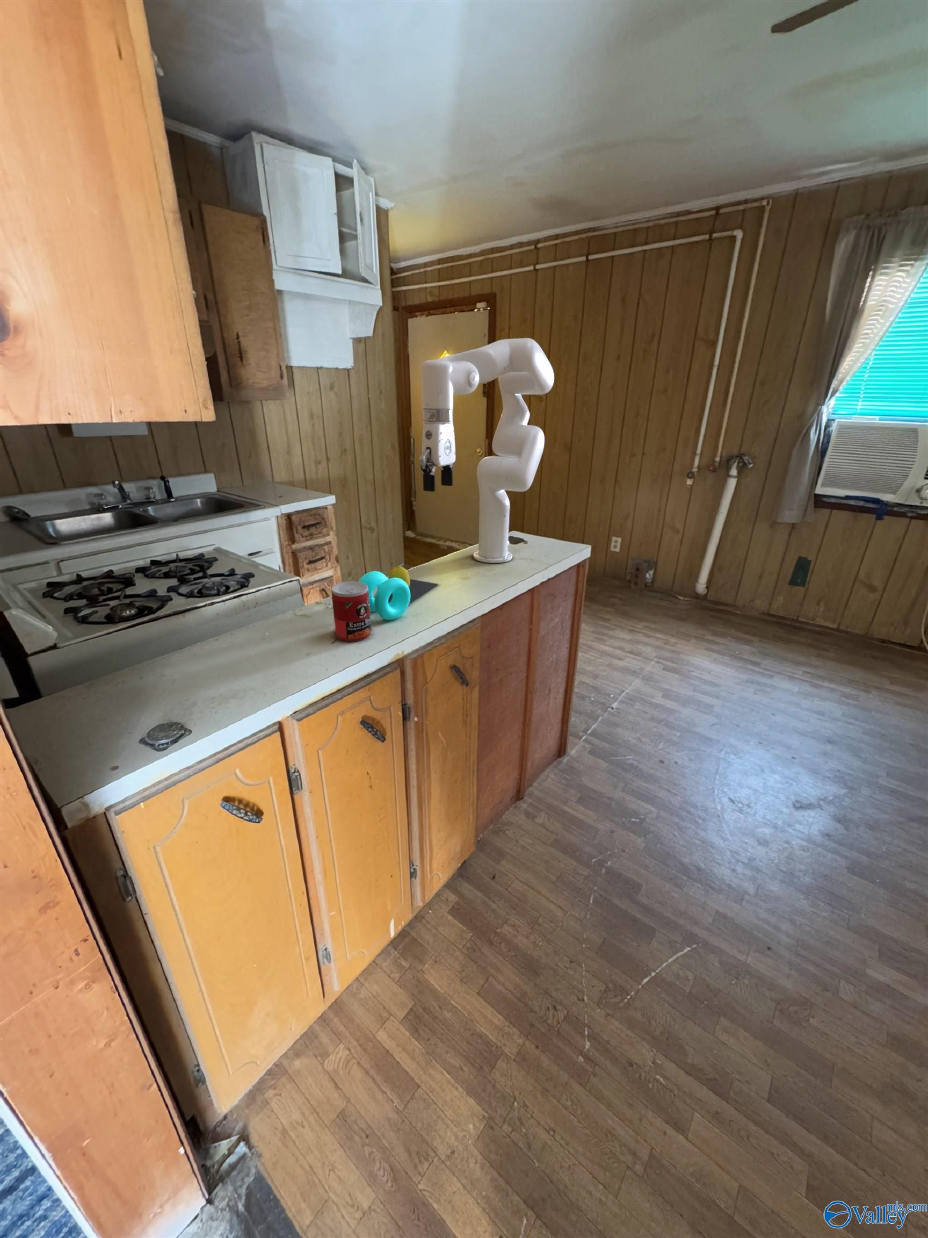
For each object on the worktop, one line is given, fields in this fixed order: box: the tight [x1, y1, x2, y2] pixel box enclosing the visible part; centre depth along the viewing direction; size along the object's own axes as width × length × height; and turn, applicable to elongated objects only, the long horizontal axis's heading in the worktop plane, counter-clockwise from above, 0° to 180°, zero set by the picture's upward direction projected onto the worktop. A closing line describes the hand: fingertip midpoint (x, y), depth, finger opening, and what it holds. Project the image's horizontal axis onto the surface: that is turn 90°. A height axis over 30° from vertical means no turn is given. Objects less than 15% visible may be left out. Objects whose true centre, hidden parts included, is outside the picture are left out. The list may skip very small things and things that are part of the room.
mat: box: [388, 578, 439, 605], centre depth 134 cm, size 18×10×1 cm, turn 155°
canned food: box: [330, 580, 372, 642], centre depth 108 cm, size 8×8×11 cm
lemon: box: [387, 565, 411, 587], centre depth 130 cm, size 6×6×8 cm
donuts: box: [358, 570, 410, 621], centre depth 118 cm, size 10×10×10 cm
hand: (438, 488), depth 129 cm, fingers open, 9 cm apart
